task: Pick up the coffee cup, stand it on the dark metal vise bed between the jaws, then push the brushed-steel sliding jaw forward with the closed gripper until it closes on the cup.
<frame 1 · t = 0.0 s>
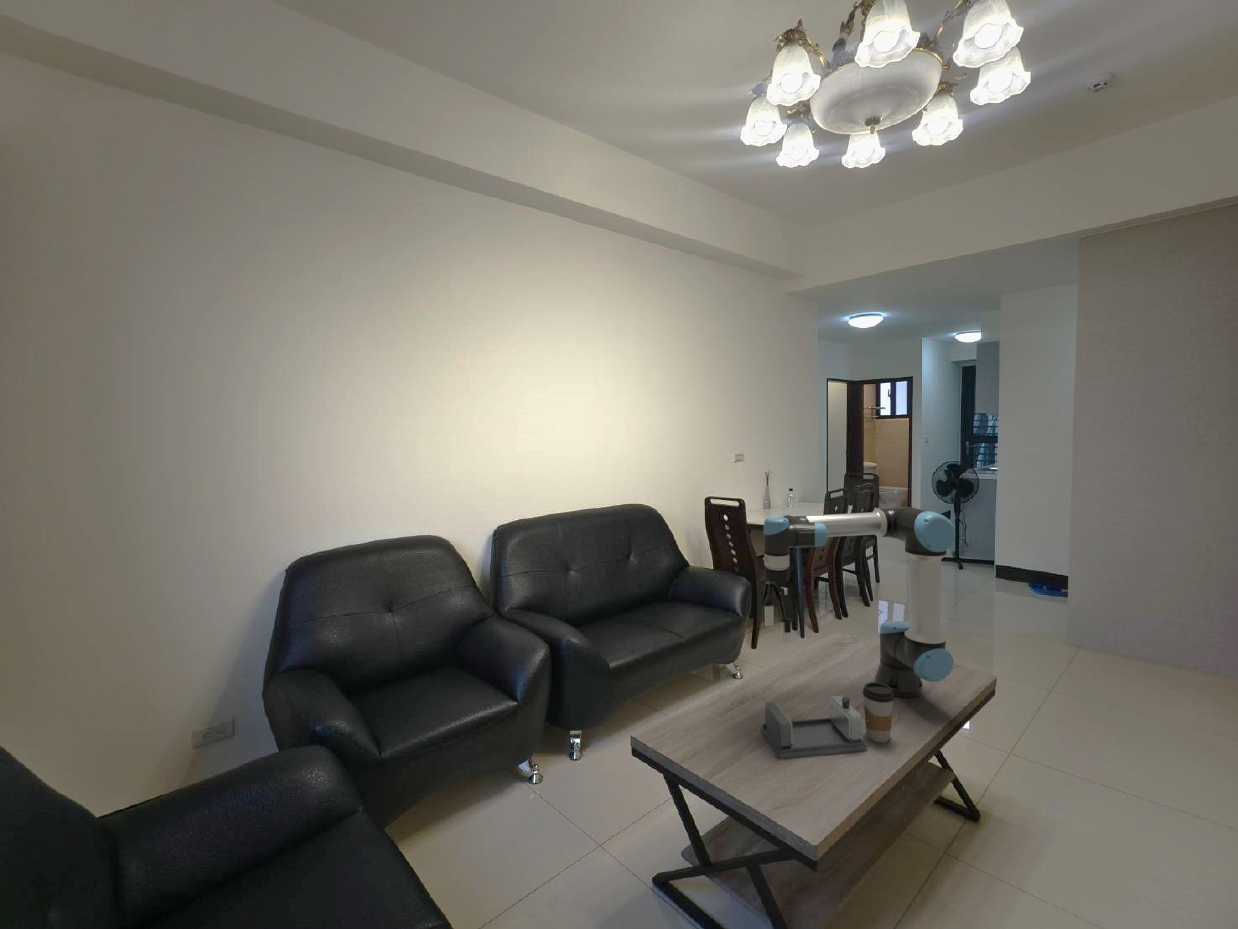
hand: (777, 633, 169), 28 cm above the table, fingers open, 13 cm apart
coffee cup: (878, 737, 160), on the table
sliding jaw: (844, 715, 160), point 7 cm above the table, slide at 0.0 cm
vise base: (812, 740, 159), on the table
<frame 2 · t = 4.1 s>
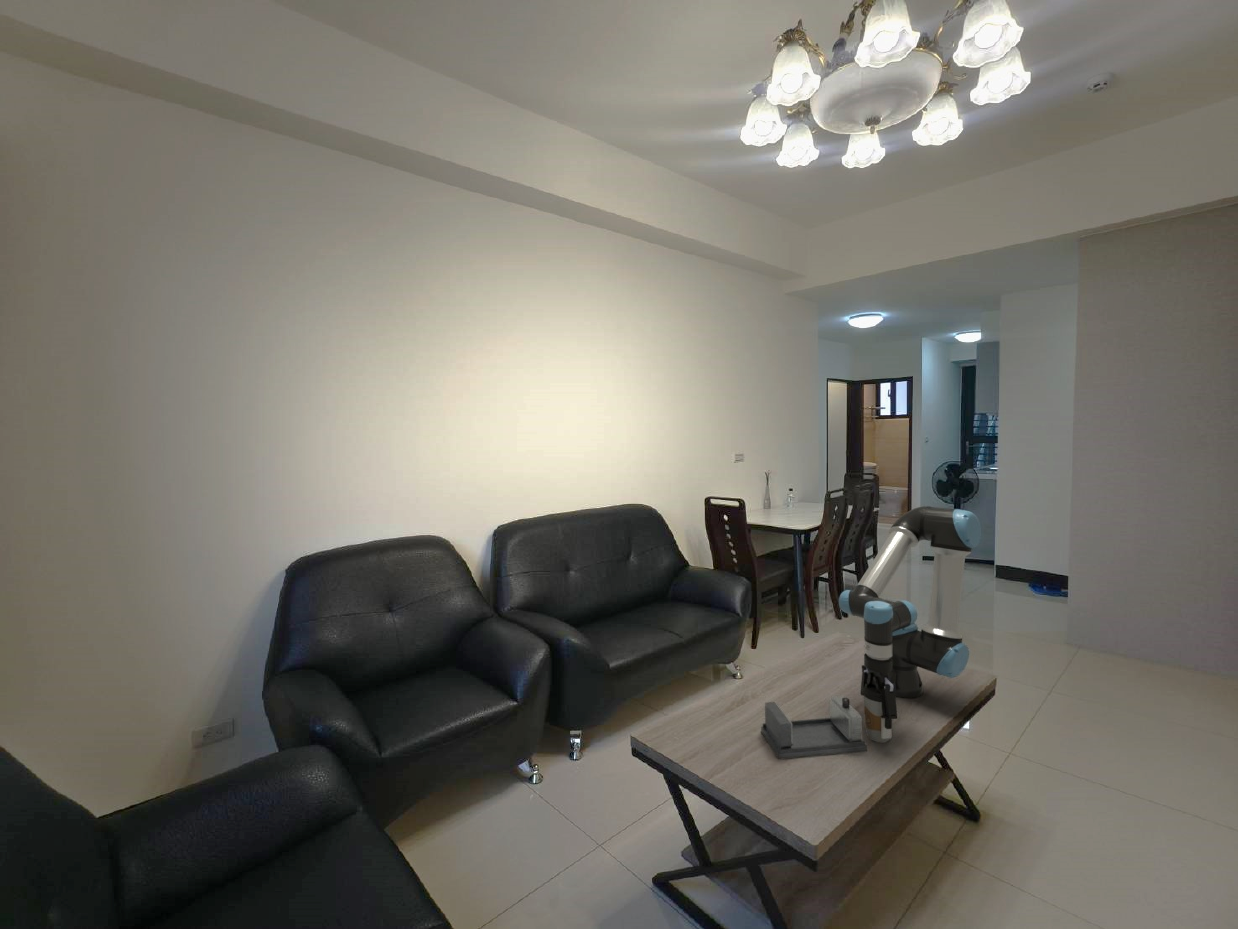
hand: (878, 729, 160), 2 cm above the table, fingers closed on coffee cup, 7 cm apart
coffee cup: (878, 737, 160), on the table, touching gripper
everything else where it was.
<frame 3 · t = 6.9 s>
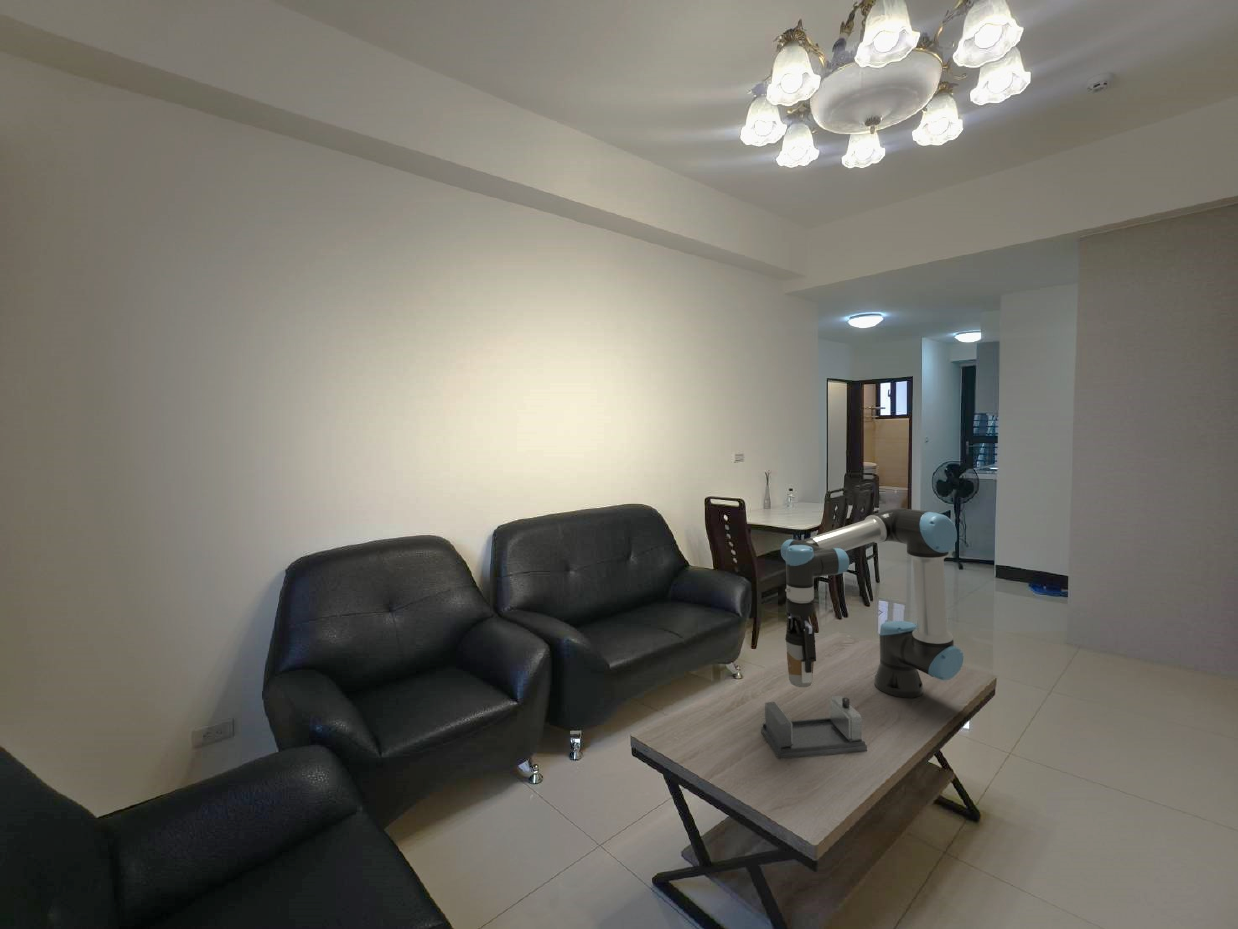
hand: (800, 675, 157), 20 cm above the table, fingers closed on coffee cup, 7 cm apart
coffee cup: (800, 683, 158), point 18 cm above the table, touching gripper
everything else where it was.
when the fingers open (5 cm above the table, at t = 9.7 s): coffee cup moves 3 cm, resting on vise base.
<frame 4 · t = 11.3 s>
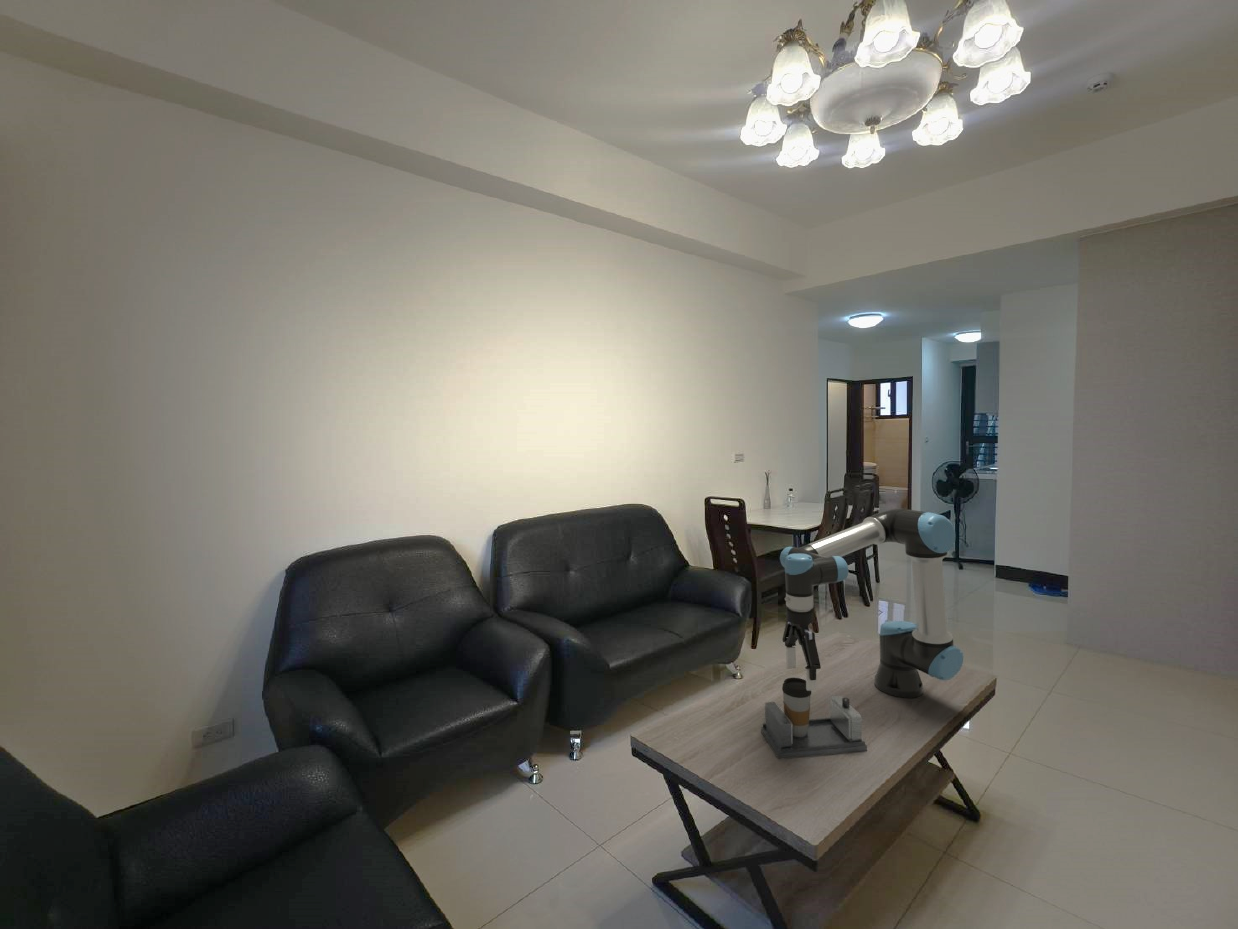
hand: (800, 678, 158), 19 cm above the table, fingers open, 13 cm apart
coffee cup: (796, 732, 162), point 1 cm above the table, touching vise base
everything else where it was.
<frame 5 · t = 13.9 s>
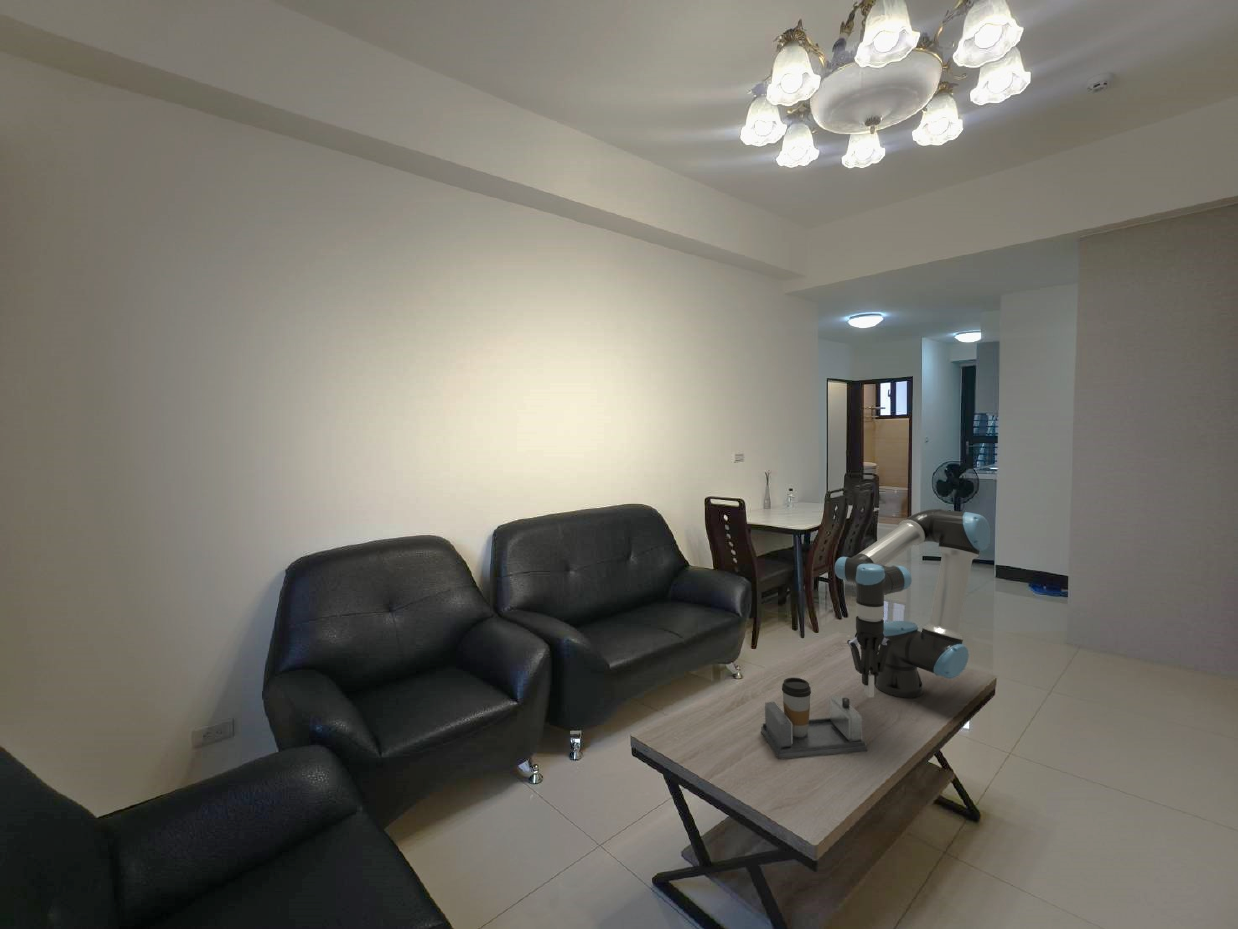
hand: (869, 695, 160), 13 cm above the table, fingers closed
nothing on the table moved.
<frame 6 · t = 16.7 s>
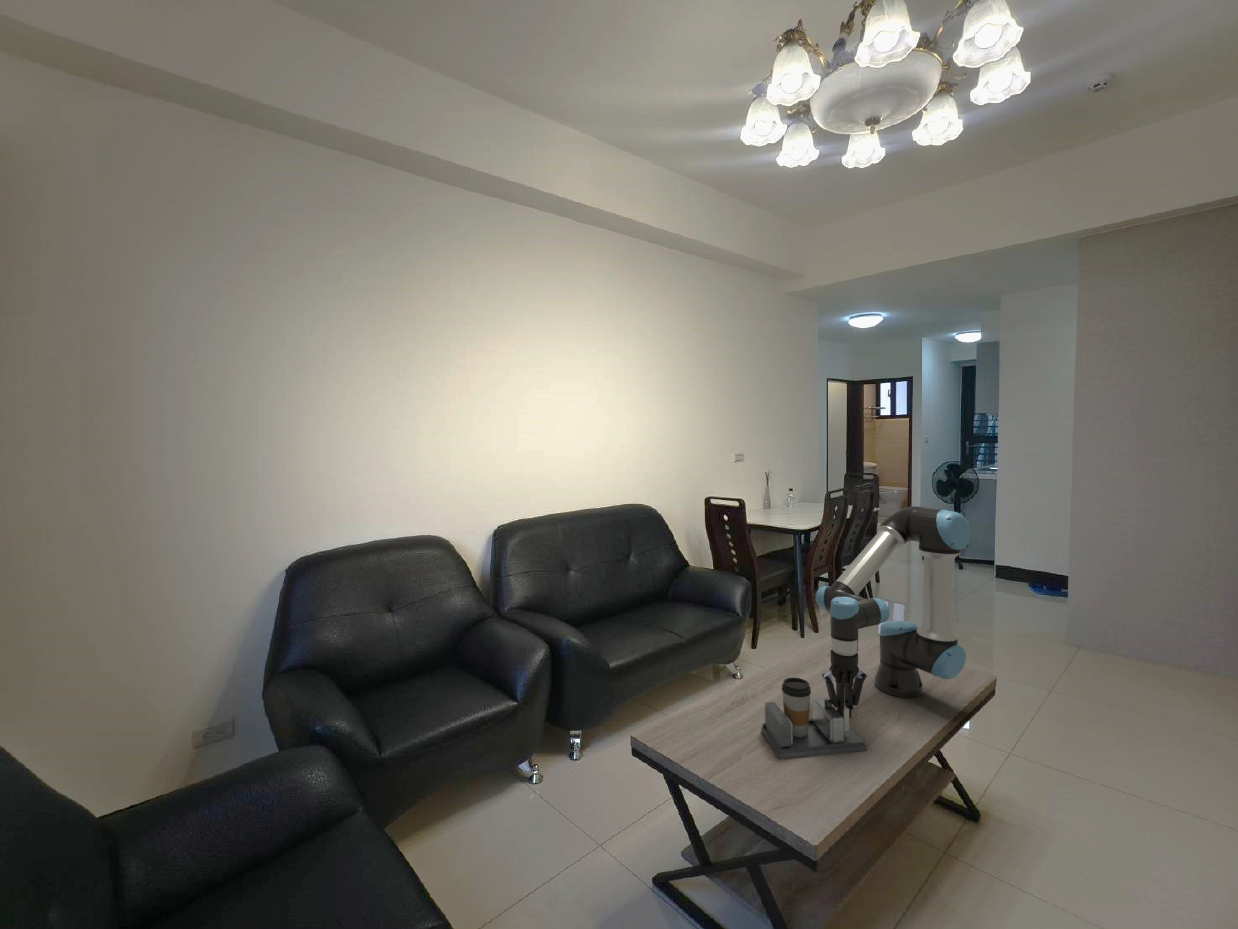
hand: (844, 728, 160), 3 cm above the table, fingers closed
sliding jaw: (827, 717, 159), point 7 cm above the table, slide at 5.5 cm, touching hand
everything else where it was.
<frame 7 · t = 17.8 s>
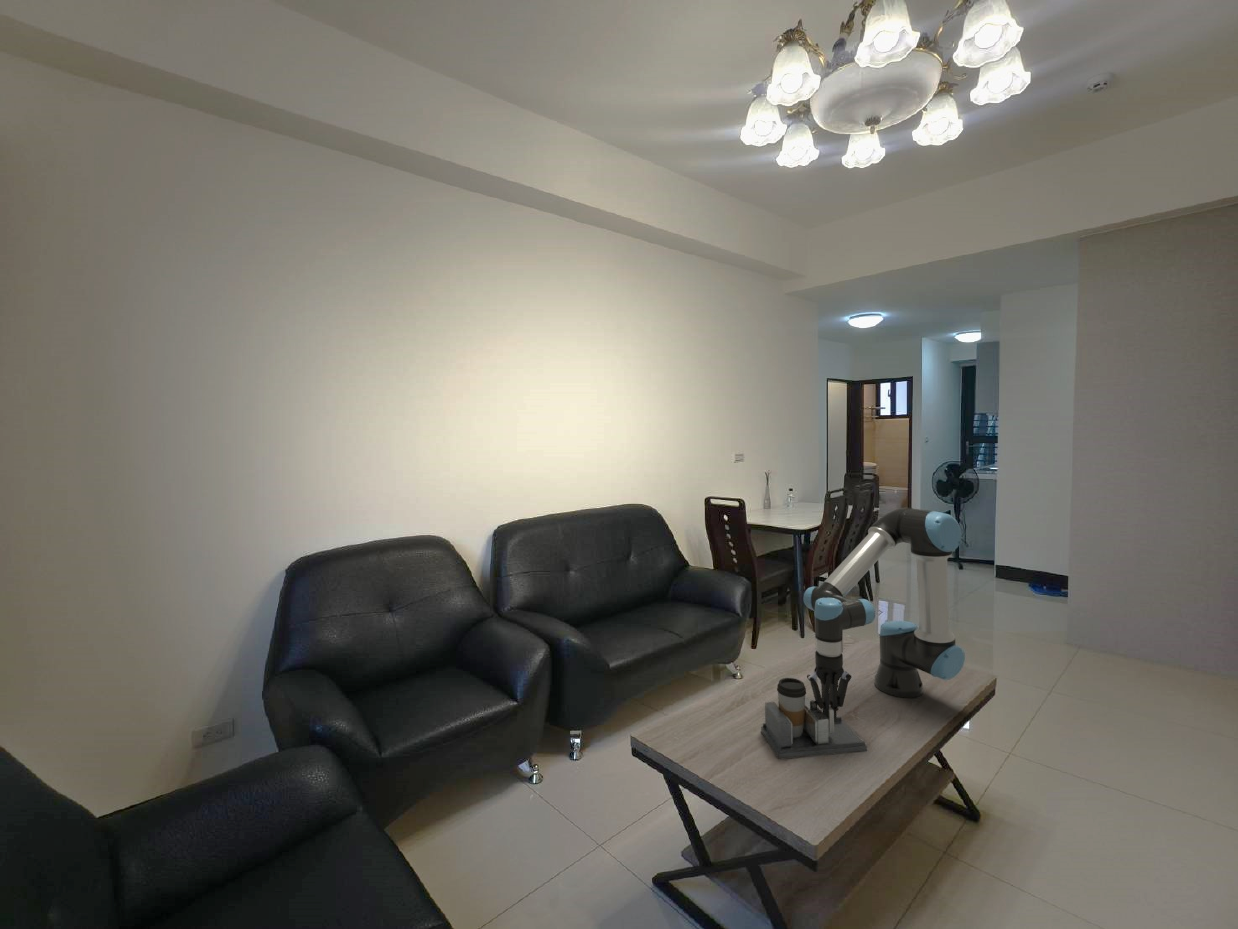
hand: (829, 729, 159), 3 cm above the table, fingers closed
coffee cup: (791, 732, 161), point 1 cm above the table, touching sliding jaw, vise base
sliding jaw: (812, 718, 159), point 7 cm above the table, slide at 10.0 cm, touching coffee cup, hand
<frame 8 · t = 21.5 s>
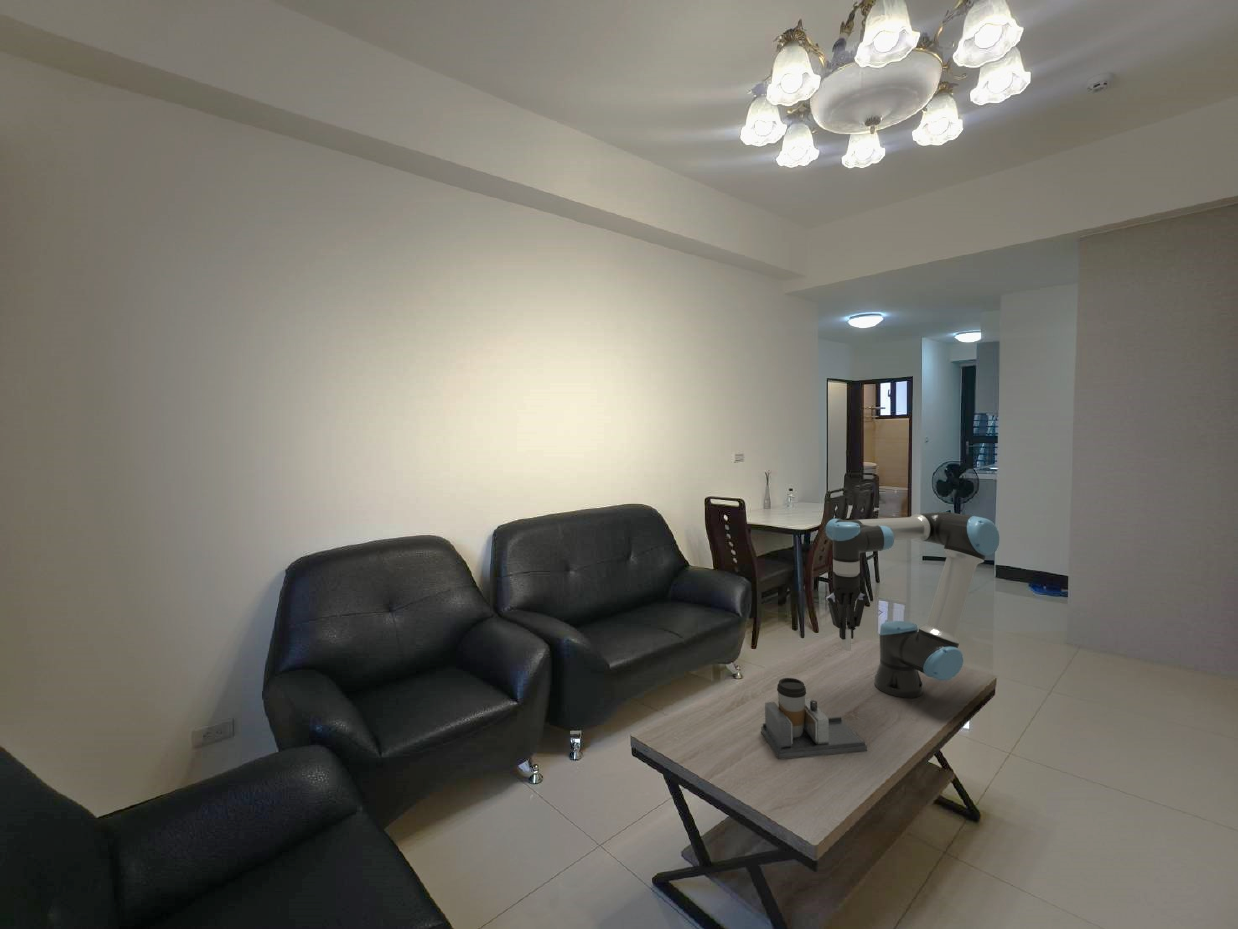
hand: (846, 648, 165), 24 cm above the table, fingers closed
coffee cup: (791, 732, 161), point 1 cm above the table, touching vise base
sliding jaw: (812, 718, 159), point 7 cm above the table, slide at 9.9 cm
at the end: coffee cup inside the target area on the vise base (3.1 cm from its centre), point 1.3 cm above the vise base's base; coffee cup tilted 0°; sliding jaw slide at 9.9 cm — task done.
